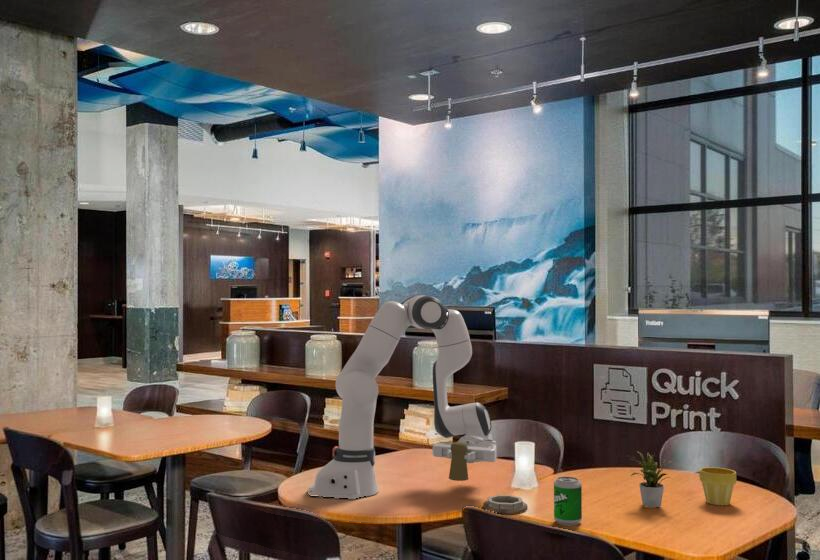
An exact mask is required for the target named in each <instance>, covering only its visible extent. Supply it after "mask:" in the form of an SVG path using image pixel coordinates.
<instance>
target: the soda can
mask: <svg viewBox="0 0 820 560" xmlns="http://www.w3.org/2000/svg"><path fill="white" fill-rule="evenodd" d="M582 496H583V494H582V482H581V481H580V480H579V479H578V478H577V477H574V476H559V477H558V476H557V478H556V479H555V480H554V481H553V519H554V521H556V523H557V524H558V525H561V526H566V527H568V526H569V527H571V526H572V527H573V526H578V525H580V524H579V523H581V521H582V519H583V518H582V517H583V515H582V514H583V513H582V512H583V511H582V510H583V509H582V505H583V502H582V501H583V500H582Z"/></svg>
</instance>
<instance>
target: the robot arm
mask: <svg viewBox="0 0 820 560" xmlns="http://www.w3.org/2000/svg"><path fill="white" fill-rule="evenodd" d="M409 327H412V328H416V329H418V330H419V329H420V330H422V329H423V330H425V329H426V330H431V331H432V332H433V334H434V336H435V337H436V345H437V348H438V350H437V351H438V353H437V354H438V356H437V359H436V361H434V363H433V365H432V389H433V391H432V392H433V407H434V408H433V409H434V411H433V416H434V417H433V421H434V422H433V423H434V424H433V425H434V430H435V432H436V433H437V434H438V435H439V436H441V437H443V438H446V439H449V438H452V437H456V436H460V435H462V437H460V438H459V439H458V441H457V442H463V443H466V445H467V447H468V450H467V452H466V454H464V457H465V458H464V459H465V460H466V462H467V464H473V463H480V462H489V463H494V462H496V461H497V455H498V454H497V441H496V440H494V439H493V435H492V433H491V432H492V431H491V430H492V420H491V415H490V412H489V410H488V409H487V408H486V406H484V404H482V403H480V402H478V401H477V402H472V403H465V404H461V405H454V406H450V405H449V404H448V403H449V402H448V389H447V383H448V382H447V381H448V379H449V378H450V377H451V376H452V375H453V374H454V373H456V372H457V371H460V370H461V369H462V368H464V367H465V366H466V365H467V364H469V362H470V361H471V358H472V355H473V347H472V342H471V339H470V338H471V337H470V334H469V333H470V332H469V330H468V327H467V325H466V322H465V319H464V317H463V315H462V314H461V312H460V311H458V310H456V309H449V308H446V306H445V305H444V304H443V303H442V301H440V299H438V298H436V297H435V296H433V295H426V294H418V295H414V296H411V297H409V298H407V299H405V300H404V301H402V302H401V303H400V302H398V301H393V300H390V301H389V300H387V301H385V302H384V303H383V304H381V306H380V308H379V309H378V310H377V312H376V313H375V314H374V316H373V318H372V319H371V320H370V323H369V325H368V327H367V328H366V330H365V332H364V334H363V336H362V338H361V339H360V342H359V344H358V345H357V347H356V349H355V351H354V352H353V353H352V355H351V356H350V357H349V359H348V360H347V362H346V363H345V365H344V366H343V368H342V370H341V371H340V373H339V374H337V377H336V378H335V379H336V380H335V385H334V386H335V391H336V393H337V394H338V396H339V397H340V398H341V399H342V401H341V402H342V404H341V412H340V418H339V422H338V446H337V445H335V446H334V447H333V448H332V453H331V454H332V460H330V461H329V462H328V463H327V464H325V465H324V466H323V467H321V468H320V469H319V470H318V471H317V473H316V475H315V479H314V484H313V485H310V486H309V487H308V489H307V492H308V493H309V494H310V495H318V496H325V497H334V498H333V499H339V498H348V499H347V500H357V499H356V498H358V499H360V498H359V497H361V498H364V496H366V497H370V496H373V495H377V494H378V493H379V488H378V484H377V479H376V472H375V463H376V451H375V450H376V448H375V446H374V423H375V422H374V421H375V414H376V408H377V400H378V396H379V391H380V390H379V386H378V383H377V381H376V378H378V377H377V376H378V375H379V374H380V373H381V371H382V370H383V368H384V367H386V366H387V364H388V363H389V361H390V359H391V357H392V355H393V354H394V352H395V349H396V347H397V346H398V344H399V342H400V340H401V338H402V335H403V333H404V332H405V331H406V330H407V329H408V328H409ZM463 435H464V436H463ZM452 443H453V442H446V441H445V442H438V443H434V444H433V445H432V456H433V457H435V458H447V459H450V460H451V459H452V452H451V445H452Z"/></svg>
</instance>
